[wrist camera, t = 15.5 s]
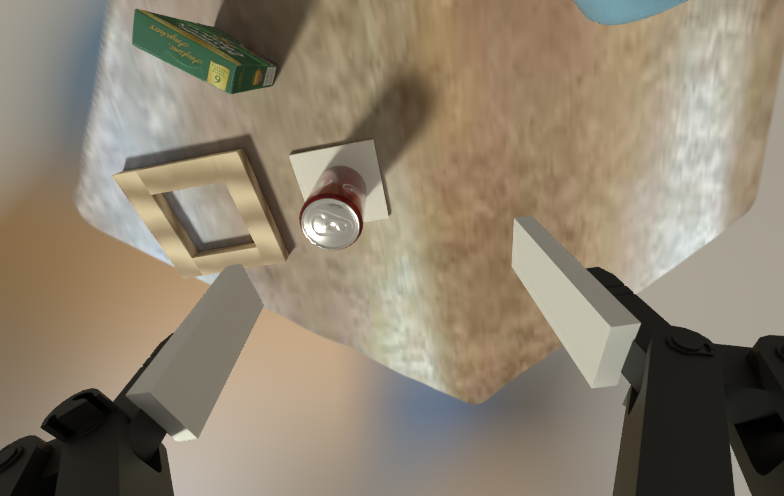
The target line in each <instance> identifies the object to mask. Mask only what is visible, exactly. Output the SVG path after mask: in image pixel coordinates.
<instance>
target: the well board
mask: <svg viewBox="0 0 784 496" xmlns="http://www.w3.org/2000/svg"><path fill="white" fill-rule="evenodd" d="M112 177H113V178H114V180H115V181H116V182H117V184H118V185H119V187H120V188H121V190H122V191H123V192H124V194H125V195H126V197H127V198H128V200H129V201H130V203H131V204H132V205H133V207H134V208H135V210H136V211H137V213H138V214H139V216H140V217H141V218H142V220H143V221H144V223H145V224H146V226H147V227H148V229H149V230H150V231H151V233H152V234H153V236H154V237H155V239H156V240H157V242H158V243H159V244H160V246H161V247H162V249H163V250H164V252H165V253H166V255H167V256H168V257H169V259H170V260H171V262H172V263H173V265H174V266H175V268H176V269H177V270H178V272H179V273H180V275H181V276H182V278H189V277H196V276H202V275H208V274H214V273H220V272H222V271H223V270H224V268H225V267H226V266H229V265H235V264H242V266H243V268H250V267H256V266H262V265H268V264H274V263H280V262H286V260H287V258H288V256H289V254H288V251H287V249H286V247H285V244H284V242H283V240H282V237H281V235H280V233H279V230H278V228H277V226H276V223H275V221H274V219H273V216H272V214H271V212H270V209H269V207H268V205H267V202H266V200H265V198H264V195H263V193H262V191H261V188H260V186H259V184H258V182H257V179H256V177H255V175H254V172H253V170H252V168H251V165H250V163H249V161H248V158H247V156H246V154H245V151H244V149H243V148H241V149H235V150H230V151H225V152H220V153H215V154H209V155H204V156H199V157H194V158H189V159H183V160H178V161H173V162H168V163H163V164H157V165H152V166H147V167H142V168H137V169H132V170H126V171H122V172H119V173H117V174H114V175H112ZM223 181H225V184H226V186H227V188H228V190H229V192H230V194H231V196H232V198H233V200H234V202H235V204H236V206H237V208H238V210H239V212H240V214H241V216H242V218H243V220H244V222H245V224H246V226H247V228H248V230H249V232H250V234H251V236H252V239H253V241H254V242H252V243H246V244H240V245H235V246H229V247H223V248H217V249H211V250H205V251H199V252H198V250H197V249H196V247H195V245H194V244H193V242H192V241H191V239H190V237H189V236H188V234H187V233H186V231H185V229H184V228H183V226H182V225H181V223H180V221H179V220H178V218H177V216H176V215H175V213H174V212H173V210H172V208H171V207H170V205H169V204H168V202H167V200H166V199H165V197H164V196H163V194H162V193H164V192H170V191H175V190H180V189H186V188H191V187H197V186H202V185H207V184H213V183H218V182H223Z"/></svg>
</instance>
